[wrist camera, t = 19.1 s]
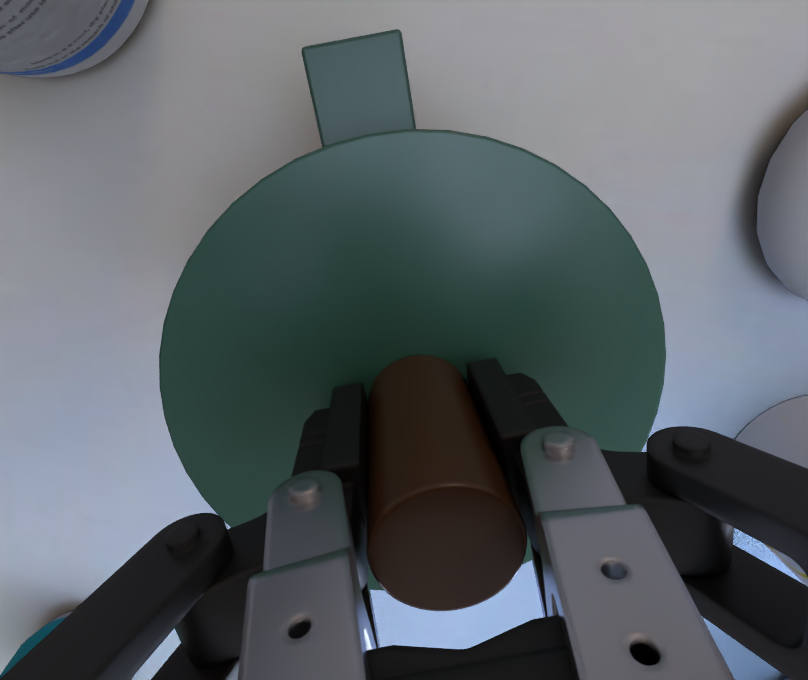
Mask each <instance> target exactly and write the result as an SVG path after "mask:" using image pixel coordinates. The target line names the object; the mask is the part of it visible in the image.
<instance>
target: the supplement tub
mask: <svg viewBox="0 0 808 680" xmlns="http://www.w3.org/2000/svg"><path fill="white" fill-rule="evenodd" d="M148 1H149V0H0V73H2V74H9V75H15V76H21V77H33V78H49V77H58V76H65V75H69V74H73V73H78V72H80V71H83V70H85V69H88V68H90V67H92V66H94V65H96V64H98V63H100V62H101V61H103V60H104V59H106V58H107V57H109V56H110V55H111V54H113V53H114V52H115V51H116V50H117V49H118V48H119V47H120V46H121V45H122V44H123V43H124V42H125V41H126V40H127V38H128V37H129V36H130V35H131V34H132V33H133V31H134V29H135V28H136V26H137V25H138V23H139V21H140V19H141V18H142V16H143V13H144V11H145V9H146V6H147V3H148Z"/></svg>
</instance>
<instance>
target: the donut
mask: <svg viewBox="0 0 808 680" xmlns="http://www.w3.org/2000/svg"><path fill="white" fill-rule="evenodd" d="M757 234H758V238H759V241H760V244H761V247H762V250H763V254H764V257H765V260H766V262H767V264H768V266H769V268H770V269H771V270H772V271H773V273H774V274H775V275H776V276H777V277H778V278H779V280H780V281H781V282H782V283H783V284H784V286H785V287H786V288H787V289H788V290H789V291H791V292H793V293H794V294H796V295H798V296H800V297H802V298H804V299H806V300H808V109H807V110H806V111H805V112H804V113H803V114H802V115H801V116H800V117H799V118H798V119H797V120H796V121H795V122H794V123H793V124H792V126H791V128H790V129H789V131H788V132H787V134H786V135H785V137H784V138H783V140H782V142H781V143H780V145H779V146H778V148H777V149H776V151H775V153H774V154H773V156H772V157H771V159H770V162H769V165H768V168H767V171H766V174H765V177H764V180H763V183H762V186H761V189H760V192H759V195H758V208H757Z"/></svg>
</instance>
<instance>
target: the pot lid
mask: <svg viewBox="0 0 808 680" xmlns="http://www.w3.org/2000/svg"><path fill="white" fill-rule="evenodd" d="M490 358H496V359H497V360H498V362H499V364H500V365H501V367H502V369H503V370H504V372H505V374H506V375H509V374H515V373H520V372H521V373H523V374H525V375H527V376H529V377H531V378H533V379H535V380H536V381H537V383H538V384H539V385H540V387H541V388H542V390H543V393H545V394H546V395H547V397H548V398H549V401H551V402H552V404H553V405H554V407H555V408H556V409H557V411H558V412H559V414H560V415H561V416H562V418H563V419H564V421H565V422H566V424H567V425H568V426H569V427H572V428H577V429H580V430H582V431H584V432H586V433H588V434H589V435H591V436H592V437H593V438H594V439H595V441H596V442H597V444H598V446H599V448H600V449H603V450H609V451H619V452H641V451H642V449H643V447H644V445H645V443H646V441H647V439H648V436H649V434H650V431H651V428H652V425H653V423H654V420H655V417H656V415H657V411H658V407H659V402H660V398H661V393H662V389H663V384H664V373H665V360H666V347H665V330H664V321H663V317H662V312H661V307H660V302H659V297H658V293H657V291H656V288H655V285H654V282H653V280H652V277H651V274H650V272H649V269H648V266H647V264H646V262H645V260H644V258H643V257H642V255H641V253H640V251H639V249H638V248H637V246H636V244H635V242H634V240H633V239H632V237H631V235H630V234H629V233H628V231H627V230H626V229H625V227H624V226H623V225H622V223H621V222H620V221H619V220H618V218H617V217H616V216H615V214H614V213H613V212H612V211H611V209H610V208H609V207H608V206H607V205H606V204H604V203H603V202H602V201H601V200H600V199H599V198H598V197H597V196H596V195H595V194H594V193H593V192H592V191H591V190H590V189H589V188H588V187H587V186H586V185H584V184H583V183H581V182H580V181H578V180H577V179H576V178H574V177H573V176H571V175H570V174H568V173H567V172H566V171H564V170H563V169H561V168H560V167H558V166H557V165H555V164H553V163H551V162H549V161H547V160H545V159H543V158H541V157H539V156H537V155H535V154H533V153H531V152H529V151H527V150H525V149H523V148H520V147H517V146H514V145H511V144H508V143H505V142H502V141H499V140H496V139H493V138H489V137H486V136H480V135H474V134H468V133H463V132H457V131H451V130H426V129H405V130H397V131H388V132H380V133H371V134H367V135H363V136H359V137H355V138H351V139H347V140H344V141H340V142H336V143H332V144H330V145H327V146H325V147H322V148H320V149H318V150H315V151H313V152H311V153H308V154H306V155H303V156H301V157H299V158H296V159H294V160H293V161H291V162H289V163H288V164H286V165H284V166H283V167H281V168H279V169H278V170H276V171H274V172H273V173H271V174H269V175H268V176H266V177H264V178H263V179H261V180H260V181H259V182H258V183H256V184H255V185H254V186H253V187H252V188H250V189H249V190H248V191H247V192H245V193H244V194H243V195H242V196H241V197H239V198H238V199H237V200H236V201H234V202H233V203H232V204H231V205H230V206H229V208H228V209H227V210H226V211H225V212H224V213H223V214H222V215H221V216H220V217H219V219H218V220H217V221H216V222H215V223H214V224H213V225H212V226H211V227H210V228H209V229H208V231H207V232H206V234H205V235H204V237H203V238H202V240H201V241H200V243H199V244H198V246H197V247H196V249H195V250H194V252H193V253H192V255H191V256H190V258H189V259H188V261H187V263H186V265H185V267H184V269H183V272H182V274H181V276H180V278H179V280H178V282H177V284H176V286H175V288H174V291H173V294H172V297H171V300H170V304H169V307H168V311H167V314H166V317H165V321H164V325H163V332H162V339H161V347H160V354H159V369H160V392H161V398H162V404H163V410H164V416H165V420H166V423H167V426H168V430H169V433H170V436H171V439H172V442H173V445H174V448H175V450H176V452H177V454H178V456H179V458H180V460H181V462H182V464H183V466H184V469H185V471H186V473H187V474H188V476H189V477H190V479H191V480H192V482H193V483H194V485H195V486H196V488H197V489H198V491H199V492H200V494H201V495H202V497H203V498H204V499H205V500H206V501H207V503H208V504H209V505H210V506H211V507H212V508H213V510H214V511H215V512H216V513H217V514H218V515H219V516H220V517H221V518H222V519H223V520H224V521H225V522H226V523H227V524H228V525H229V526H230V527H231V528H233V527H235V526H237V525H240V524H242V523H245V522H247V521H250V520H252V519H254V518H257V517H259V516H261V515H262V514H264V513H266V512H267V510H268V501H269V498H270V495H271V494H272V492H273V491H274V490H275V489H276V488H277V487H278V486H279V485H280V484H281V483H282V482H284V481H285V480H287V479H289V478H291V476H292V472H293V468H294V464H295V460H296V455H297V451H298V448H299V443H300V439H301V437H302V436H301V434H302V430H303V426H304V422H305V421H306V420H307V419H308V418H309V417H310V416H311V415H312V413H313V412H314V411H315V410H320V409H325V408H330V404H331V397H332V391H333V387H339V386H344V385H349V384H355V383H360V382H362V383H363V385H364V389H365V393H366V397H367V402H368V467H367V559H368V580H367V581H368V585H369V589H370V590H385V591H386V592H387V593H388V594H389V595H391V596H392V597H393V598H395V599H397V600H398V601H400V602H402V603H404V604H407V605H409V606H412V607H415V608H419V609H424V610H431V611H451V610H458V609H463V608H467V607H470V606H473V605H476V604H479V603H481V602H483V601H485V600H487V599H489V598H491V597H493V596H494V595H496V594H497V593H498V592H500V591H501V590H502V589H504V588H505V587H506V586H507V585H508V584H509V583H510V582H511V581H512V579H513V578H514V577H515V576H516V574H517V573H518V571H519V569H520V567H521V565H522V564H524V563H527V562H529V561H531V560H532V552H531V542H530V540H529V537H528V535H527V530H526V525H525V523H524V520H523V517H522V515H521V513H520V510H519V508H518V505H517V503H516V500H515V498H514V495H513V493H512V491H511V488H510V486H509V483H508V481H507V478H506V476H505V474H504V471H503V469H502V466H501V464H500V461H499V459H498V456H497V454H496V452H495V449H494V447H493V444H492V442H491V439H490V437H489V435H488V432H487V430H486V427H485V425H484V422H483V420H482V417H481V415H480V413H479V410H478V408H477V405H476V403H475V400H474V398H473V396H472V393H471V391H470V388H469V384H468V377H467V369H466V363H469V362H474V361H479V360H485V359H490Z"/></svg>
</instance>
